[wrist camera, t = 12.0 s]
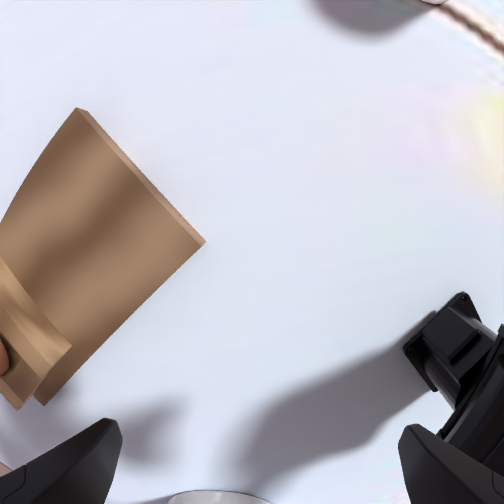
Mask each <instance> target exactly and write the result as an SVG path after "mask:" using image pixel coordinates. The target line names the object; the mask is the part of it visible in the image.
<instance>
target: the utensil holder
mask: <svg viewBox="0 0 504 504" xmlns="http://www.w3.org/2000/svg"><path fill="white" fill-rule="evenodd" d="M167 504H271V503H269V502H267V501H265V500H263V499H260V498H257V497H253V496H250V495H245V494H240V493H234V492H226V491H213V490H201V491H190V492H184V493H180V494H177V495H175V496H173V497H172V498H171V499H170V500H168V502H167Z"/></svg>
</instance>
